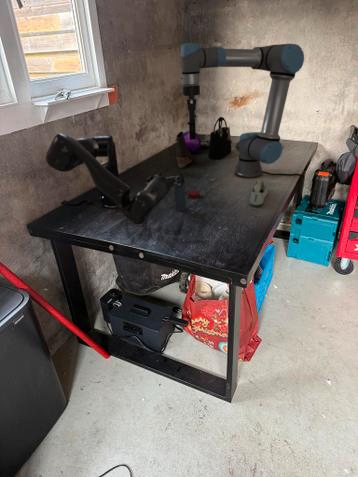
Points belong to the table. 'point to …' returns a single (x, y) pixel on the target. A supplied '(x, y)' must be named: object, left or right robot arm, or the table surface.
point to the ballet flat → (258, 193)
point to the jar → (180, 198)
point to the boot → (182, 151)
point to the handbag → (220, 141)
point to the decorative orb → (192, 142)
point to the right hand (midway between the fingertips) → (192, 135)
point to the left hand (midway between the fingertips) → (170, 174)
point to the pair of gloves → (206, 141)
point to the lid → (193, 194)
